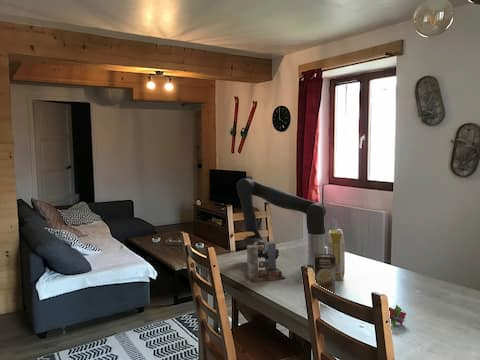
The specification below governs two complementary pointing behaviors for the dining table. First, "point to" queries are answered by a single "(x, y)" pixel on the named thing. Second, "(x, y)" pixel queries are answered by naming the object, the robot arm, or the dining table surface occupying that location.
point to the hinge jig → (253, 267)
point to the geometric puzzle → (396, 315)
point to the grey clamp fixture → (269, 257)
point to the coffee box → (325, 270)
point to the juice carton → (337, 251)
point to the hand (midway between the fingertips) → (272, 257)
